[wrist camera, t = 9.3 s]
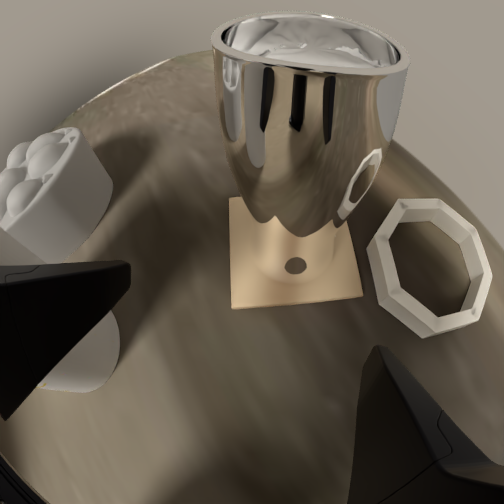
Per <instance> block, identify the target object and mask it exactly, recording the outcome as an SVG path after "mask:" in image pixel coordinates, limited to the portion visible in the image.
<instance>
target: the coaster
mask: <svg viewBox="0 0 504 504" xmlns="http://www.w3.org/2000/svg"><path fill="white" fill-rule="evenodd" d="M252 228H253V223H252V219H251V217H250V214H249V212H248V210H247V208H246V206H245V204H244V202H243V199H242V197H234V198H229V229H230V271H231V302H232V309H244V308H258V307H271V306H283V305H294V304H304V303H314V302H324V301H332V300H341V299H349V298H357V297H362V296H363V291H362V286H361V281H360V276H359V271H358V267H357V262H356V258H355V253H354V249H353V245H352V240H351V236H350V232H349V228H348V224H347V221H345V222H344V224H343V225H342V226H341V227H340V229H339V230H338V231H337V233H336V235H335V236H336V237H335V243H334V254H333V258H332V261H331V263H330V265H329V266H328V268H327V269H326V270H325V272H324V273H323V274H321V275H320V276H319V277H317V278H316V279H314V280H312V281H310V282H307V283H304V284H297V285H289V284H283V283H279V282H276V281H274V280H272V279H270V278H268V277H267V276H265V275H264V274H263V273H262V272H261V271H260V270H259V269H258V268H257V266H256V265H255V263H254V262H253V260H252V257H251V254H250V236H251V232H252Z"/></svg>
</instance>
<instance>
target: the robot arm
mask: <svg viewBox="0 0 504 504" xmlns="http://www.w3.org/2000/svg"><path fill="white" fill-rule="evenodd" d="M130 285H131V266H130V264H129V263H127V262H125V261H122V260H114V261H95V262H77V263H59V264H42V265H0V415H1V417H2V418H3V419H4V420H5V421H6V420H8V419H9V417H10V416H11V415H12V414H13V413H14V412H15V410H16V409H17V408H18V407H19V406H20V405H21V404H22V402H23V401H24V400H25V399H26V398H27V397H28V396H29V395H30V393H31V392H32V391H33V390H34V389H35V388H36V387H37V386H38V384H39V383H40V382H41V381H42V380H43V379H44V378H45V377H46V376H47V375H48V374H49V373H50V371H51V370H52V369H53V368H54V367H55V366H56V365H57V364H58V363H59V362H60V361H61V360H62V359H63V358H64V357H65V356H66V355H67V354H68V353H69V352H70V351H71V350H72V349H73V348H74V347H75V346H76V345H77V344H78V343H79V342H80V341H81V340H82V339H83V338H84V337H85V336H86V335H87V334H88V333H89V332H90V331H91V330H92V329H93V328H94V327H95V326H96V325H97V324H98V323H99V322H100V321H101V320H102V319H103V318H104V317H105V316H106V315H107V314H108V313H109V312H110V310H111V309H112V308H113V307H114V306H115V304H116V303H117V302H118V301H119V300H120V299H121V297H122V296H123V295H124V294H125V293H126V292H127V291H128V289H129V288H130ZM0 501H1V502H2V503H3V504H50V503H49V502H48V501H47V500H45V499H44V498H43V497H42V496H41V495H40V494H39V493H38V492H37V491H36V490H35V489H34V488H33V487H32V486H31V485H30V484H29V483H28V482H27V481H26V480H25V479H24V478H23V477H22V476H21V475H20V474H19V473H18V472H17V471H16V469H15V468H14V467H13V466H12V465H11V464H10V463H9V461H8V460H7V459H6V458H5V457H4V455H3V454H2V453H1V452H0ZM347 504H504V466H502V465H498V464H496V463H494V462H493V461H491V460H490V459H489V458H488V457H487V456H486V455H485V454H484V453H483V452H482V451H481V450H480V449H479V448H478V447H477V446H476V445H475V444H474V443H473V442H472V441H471V440H470V439H469V438H468V437H467V436H466V435H465V434H464V433H463V432H462V431H461V429H460V428H459V427H458V426H457V425H456V424H455V423H454V422H453V421H452V420H451V418H450V417H449V416H448V415H447V414H446V413H445V411H444V410H442V408H441V407H440V406H439V405H438V403H437V402H436V401H435V400H434V399H433V398H432V397H431V395H430V394H429V393H428V392H427V391H426V390H425V389H424V387H423V386H422V385H421V384H420V383H419V382H418V381H417V380H416V379H415V377H414V376H413V375H412V374H411V373H410V372H409V371H408V370H407V368H406V367H405V366H404V365H403V364H402V363H401V362H400V361H399V360H398V359H397V357H396V356H395V355H394V354H393V353H392V352H391V351H390V350H389V349H388V348H387V347H385V346H381V345H375V346H374V347H373V349H372V351H371V353H370V355H369V356H368V358H367V360H366V362H365V364H364V367H363V371H362V379H361V386H360V392H359V399H358V405H357V418H356V434H355V446H354V457H353V466H352V475H351V482H350V489H349V496H348V502H347Z"/></svg>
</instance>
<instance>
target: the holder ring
mask: <svg viewBox="0 0 504 504" xmlns="http://www.w3.org/2000/svg"><path fill="white" fill-rule="evenodd" d="M423 221H430V222H432V223H433V224H434V225H436V226H437V227H438V228H439V229H441V230H442V231H443V232H444V233H446V234H447V235H448V236H449V237H451V238H452V239H453V240H454V241H455V242H457V243H458V244H459V245H460V248H461V251H462V254H463V257H464V260H465V263H466V267H467V270H468V273H469V277H470V280H471V283H470V286H469V289H468V292H467V294H466V297H465V300H464V302H463V305H462V307H461V310H460V312H458V313H454V314H450V315H446V316H442V317H437V316H435V315H434V314H433V313H432V312H431V311H429V310H428V309H427V308H426V307H425V306H423V305H422V304H421V303H420V302H418V301H417V300H416V299H415V298H413V297H412V296H411V295H410V294H408V293H407V292H406V291H405V290H403V289H402V288H401V287H400V283H399V279H398V275H397V271H396V267H395V263H394V259H393V256H392V252H391V248H390V245H389V241H388V239H389V238H390V236H391V234H392V233H393V231H394V229H395V228H396V226H397V224H398V223H403V222H423ZM366 249H367V254H368V258H369V262H370V266H371V270H372V275H373V279H374V284H375V289H376V294H377V299H378V304H379V305H380V306H382V307H383V308H384V309H386V310H387V311H388V312H389V313H391V314H392V315H393V316H395V317H396V318H397V319H398V320H400V321H401V322H402V323H403V324H405V325H406V326H407V327H408V328H410V329H411V330H412V331H413V332H415V333H416V334H417V335H418V336H420V337H421V338H426V337H430V336H434V335H438V334H441V333H445V332H448V331H452V330H455V329H458V328H462V327H465V326H467V325H469V324H471V323H474V322H476V321H478V320H479V317H480V315H481V312H482V309H483V306H484V303H485V300H486V297H487V293H488V290H489V287H490V283H491V280H492V273H491V269H490V266H489V263H488V260H487V257H486V254H485V251H484V248H483V246H482V243H481V240H480V238H479V235H478V232H477V230H476V228H475V227H474V226H472V225H471V224H470V223H469V222H468V221H466V220H465V219H464V218H463V217H462V216H460V215H459V214H458V213H457V212H456V211H454V210H453V209H452V208H451V207H449V206H448V205H447V204H445V203H444V202H443V201H442V200H440V199H398V200H397V201H396V203H395V205H394V206H393V208H392V209H391V211H390V212H389V214H388V216H387V217H386V219H385V220H384V222H383V223H382V225H381V226H380V228H379V229H378V231H377V232H376V234H375V235H374V237H373V238H372V240H371V242H370V243H369V245H368V247H367V248H366Z"/></svg>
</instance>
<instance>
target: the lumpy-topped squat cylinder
mask: <svg viewBox="0 0 504 504" xmlns="http://www.w3.org/2000/svg"><path fill="white" fill-rule="evenodd" d="M112 191H113V182H112V179H111V178H110V176H109V175H108V173H107V172H106V170H105V168H104V167H103V165H102V164H101V162H100V161H99V159H98V157H97V156H96V154H95V153H94V151H93V150H92V148H91V146H90V145H89V143H88V141H87V140H86V138H85V136H84V135H83V133H82V131H81V130H80V129H78V128H75V127H68V128H62V129H59V130H56V131H54V132H51V133H46V134H43V135H41V136H39V137H38V138H36V139H35V140H34V141H33V142H24V143H21V144H19V145H17V146H16V147H15V148H14V149H13V150H12V151H11V153H10V154H9V156H8V159H7V168H5V169H4V170H3V172H2V173H1V174H0V227H1V228H2V229H4V230H5V231H6V232H7V233H8V234H10V235H11V236H12V237H13V238H14V239H16V240H17V241H18V242H19V243H21V244H22V245H23V246H24V247H26V248H27V249H28V250H30V251H31V252H32V253H33V254H35V255H36V256H37V257H39V258H40V259H41V260H43V261H44V262H46V263H47V264H59V263H62V262H63V261H64V260H65V259H66V258H68V257H69V256H70V255H71V254H72V253H73V252H74V251H75V250H77V249H78V248H79V247H80V246H81V245H82V244H83V243H84V242H85V241H86V240H87V239H88V238H89V236H90V235H91V234H92V232H93V231H94V229H95V228H96V226H97V225H98V223H99V221H100V220H101V218H102V216H103V214H104V213H105V211H106V209H107V207H108V204H109V202H110V199H111V195H112Z"/></svg>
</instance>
